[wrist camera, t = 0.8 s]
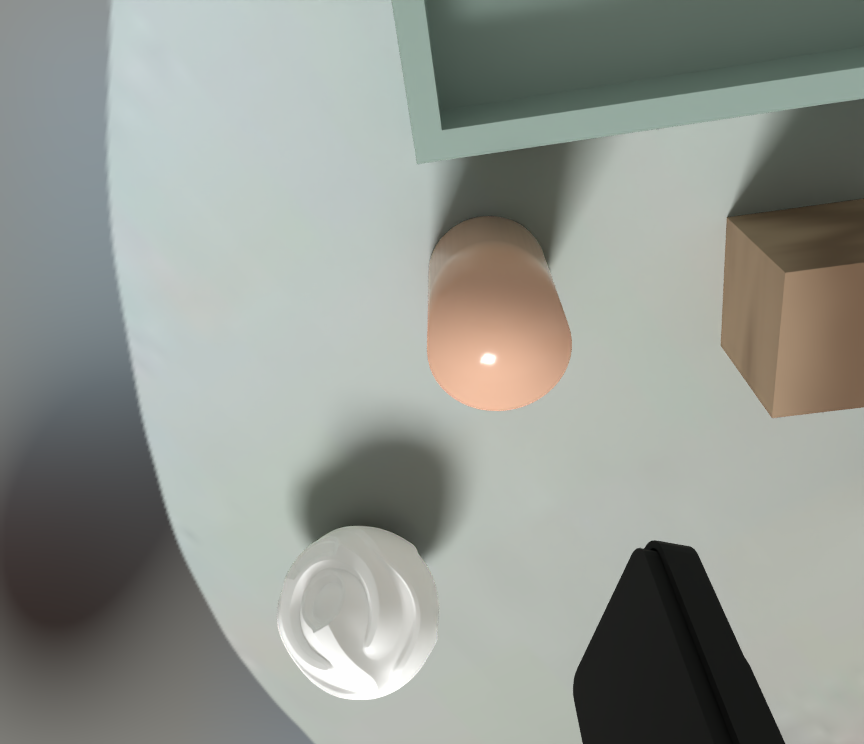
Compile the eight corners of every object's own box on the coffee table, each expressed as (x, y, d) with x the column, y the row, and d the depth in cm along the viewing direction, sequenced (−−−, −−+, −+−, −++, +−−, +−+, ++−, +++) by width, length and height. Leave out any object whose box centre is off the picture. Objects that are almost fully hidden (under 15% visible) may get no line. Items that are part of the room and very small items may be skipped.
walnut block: (877, 196, 31) (967, 248, 26) (857, 327, 34) (935, 398, 29) (726, 216, 31) (785, 272, 26) (720, 344, 34) (771, 417, 29)
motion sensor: (380, 471, 38) (368, 587, 31) (471, 561, 41) (478, 685, 34) (263, 546, 40) (229, 668, 33) (357, 626, 43) (342, 753, 36)
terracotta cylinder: (541, 207, 31) (567, 273, 25) (549, 317, 33) (575, 401, 27) (420, 225, 31) (416, 294, 25) (437, 332, 34) (438, 418, 28)
